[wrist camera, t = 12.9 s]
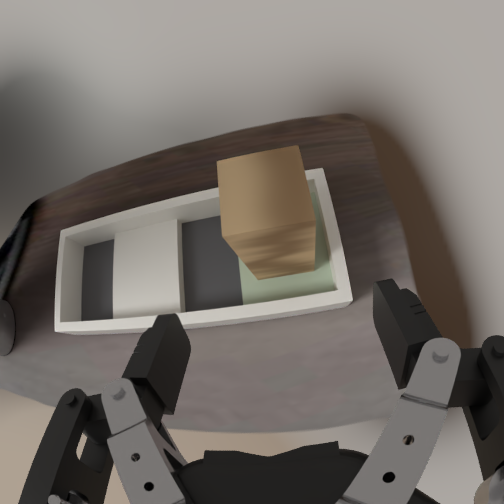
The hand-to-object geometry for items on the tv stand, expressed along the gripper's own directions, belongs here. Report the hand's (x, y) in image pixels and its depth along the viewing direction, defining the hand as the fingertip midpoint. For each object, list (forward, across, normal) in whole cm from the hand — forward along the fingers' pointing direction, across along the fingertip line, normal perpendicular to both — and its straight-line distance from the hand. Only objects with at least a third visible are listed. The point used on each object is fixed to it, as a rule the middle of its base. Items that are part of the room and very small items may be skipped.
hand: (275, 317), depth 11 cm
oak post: (+15, 0, +4) cm, 15 cm away
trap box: (+16, +10, +5) cm, 20 cm away
